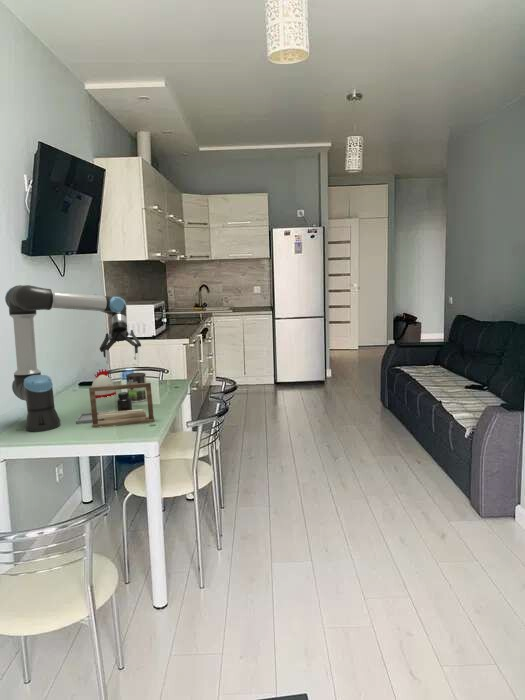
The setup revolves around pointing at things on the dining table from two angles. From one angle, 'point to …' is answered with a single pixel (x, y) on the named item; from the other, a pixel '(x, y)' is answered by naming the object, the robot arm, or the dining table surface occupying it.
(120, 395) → the supplement bottle
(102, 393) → the kitchen timer
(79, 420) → the grey tray
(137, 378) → the coffee can
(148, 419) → the walnut rack
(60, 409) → the dining table surface
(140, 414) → the offcut stack
